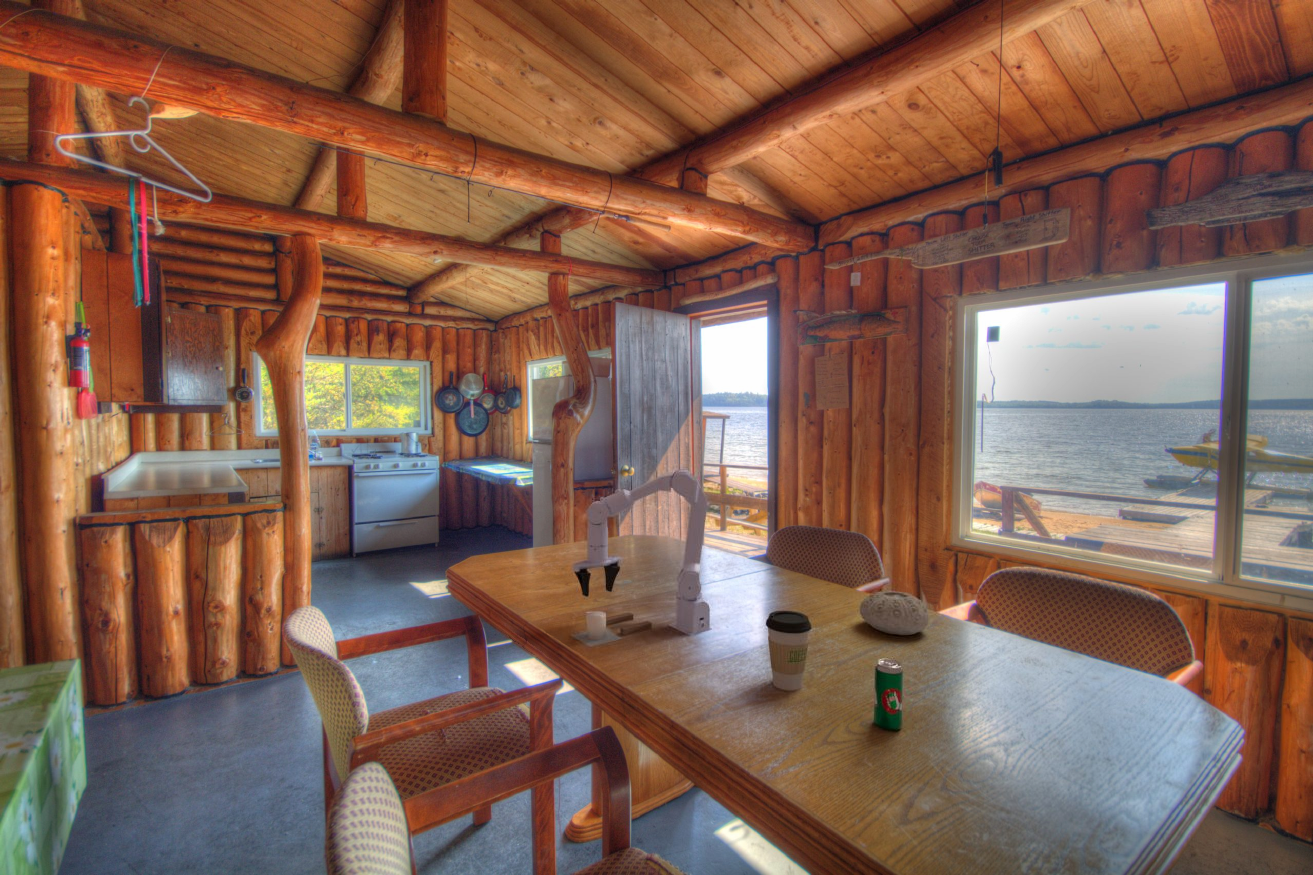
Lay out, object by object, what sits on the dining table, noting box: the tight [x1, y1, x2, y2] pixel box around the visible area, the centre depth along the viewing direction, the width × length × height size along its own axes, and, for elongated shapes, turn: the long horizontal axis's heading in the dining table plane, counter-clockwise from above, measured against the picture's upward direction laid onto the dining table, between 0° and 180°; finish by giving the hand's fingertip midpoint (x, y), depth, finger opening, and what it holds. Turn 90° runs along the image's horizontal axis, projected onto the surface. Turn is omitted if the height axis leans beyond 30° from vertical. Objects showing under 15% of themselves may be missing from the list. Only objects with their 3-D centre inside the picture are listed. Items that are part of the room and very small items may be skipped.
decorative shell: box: [859, 590, 930, 636], centre depth 166 cm, size 18×18×10 cm
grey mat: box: [570, 629, 623, 648], centre depth 157 cm, size 10×10×1 cm
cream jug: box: [585, 610, 607, 640], centre depth 158 cm, size 7×5×6 cm
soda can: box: [873, 658, 904, 732], centre depth 113 cm, size 5×5×12 cm
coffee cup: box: [765, 610, 812, 692], centre depth 130 cm, size 10×10×15 cm
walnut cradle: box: [606, 612, 653, 637], centre depth 165 cm, size 11×9×2 cm
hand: (597, 593), depth 166 cm, fingers open, 7 cm apart
